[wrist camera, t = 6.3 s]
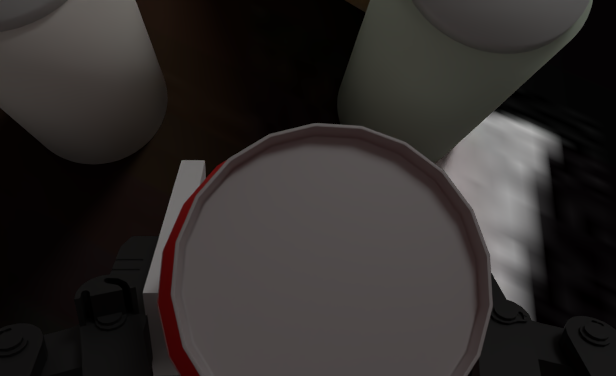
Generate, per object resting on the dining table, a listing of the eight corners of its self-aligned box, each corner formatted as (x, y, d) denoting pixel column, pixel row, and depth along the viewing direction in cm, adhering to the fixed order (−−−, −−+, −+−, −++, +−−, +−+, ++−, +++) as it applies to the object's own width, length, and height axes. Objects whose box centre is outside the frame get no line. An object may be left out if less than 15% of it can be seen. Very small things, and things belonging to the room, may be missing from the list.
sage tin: (458, 51, 28) (587, -126, 17) (468, 170, 27) (619, 58, 16) (335, 47, 28) (388, -140, 17) (338, 168, 26) (399, 50, 15)
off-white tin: (171, 40, 27) (112, -160, 16) (163, 165, 25) (91, 38, 14) (35, 35, 26) (-126, -177, 15) (18, 163, 25) (-175, 28, 14)
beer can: (384, 312, 24) (605, 285, 9) (282, 416, 23) (330, 604, 7) (290, 212, 25) (339, 23, 10) (186, 306, 23) (43, 263, 8)
